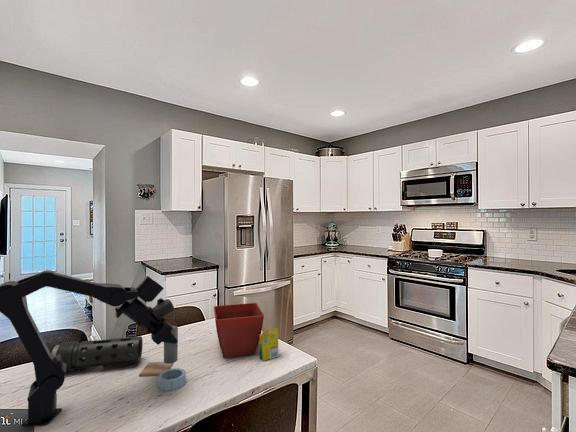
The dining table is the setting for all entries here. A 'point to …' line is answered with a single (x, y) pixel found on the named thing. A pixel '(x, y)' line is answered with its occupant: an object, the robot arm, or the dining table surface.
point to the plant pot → (238, 328)
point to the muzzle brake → (100, 352)
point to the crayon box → (268, 344)
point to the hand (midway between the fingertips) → (175, 340)
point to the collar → (171, 379)
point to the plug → (171, 348)
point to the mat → (155, 368)
